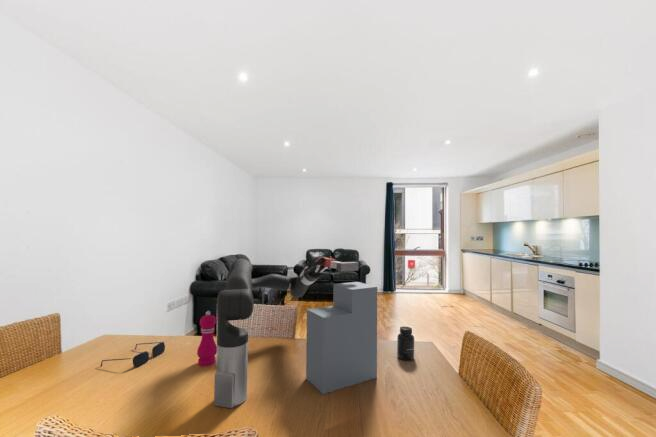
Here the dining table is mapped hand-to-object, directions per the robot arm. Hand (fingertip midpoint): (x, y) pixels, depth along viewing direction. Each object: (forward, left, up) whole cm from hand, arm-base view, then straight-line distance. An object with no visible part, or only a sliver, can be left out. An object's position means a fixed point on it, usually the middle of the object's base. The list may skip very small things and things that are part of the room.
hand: (327, 258), depth 129 cm
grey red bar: (-4, -4, -3) cm, 7 cm away
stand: (-18, -10, -40) cm, 45 cm away
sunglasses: (-24, +73, -41) cm, 87 cm away
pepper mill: (-20, +43, -40) cm, 62 cm away
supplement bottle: (+6, -32, -40) cm, 52 cm away
